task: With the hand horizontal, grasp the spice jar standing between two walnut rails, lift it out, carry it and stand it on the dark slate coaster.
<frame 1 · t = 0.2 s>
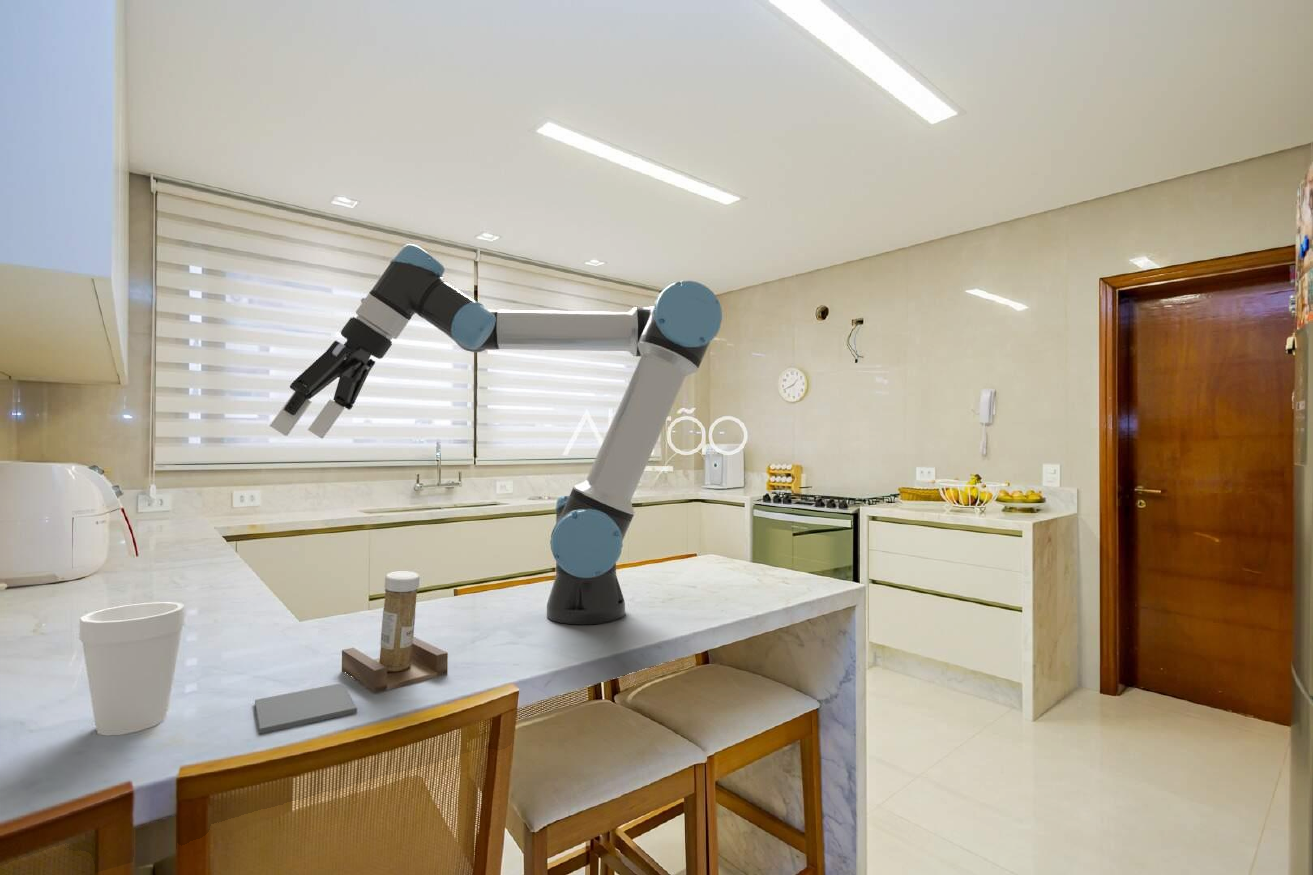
hand: (297, 432, 104), 35 cm above the countertop, tool tilted 35°, fingers open, 13 cm apart
slate coaster: (305, 708, 78), on the countertop
walnut cradle: (394, 672, 90), on the countertop
spice jar: (394, 667, 90), point 1 cm above the countertop, touching walnut cradle
foam cup: (132, 724, 73), on the countertop
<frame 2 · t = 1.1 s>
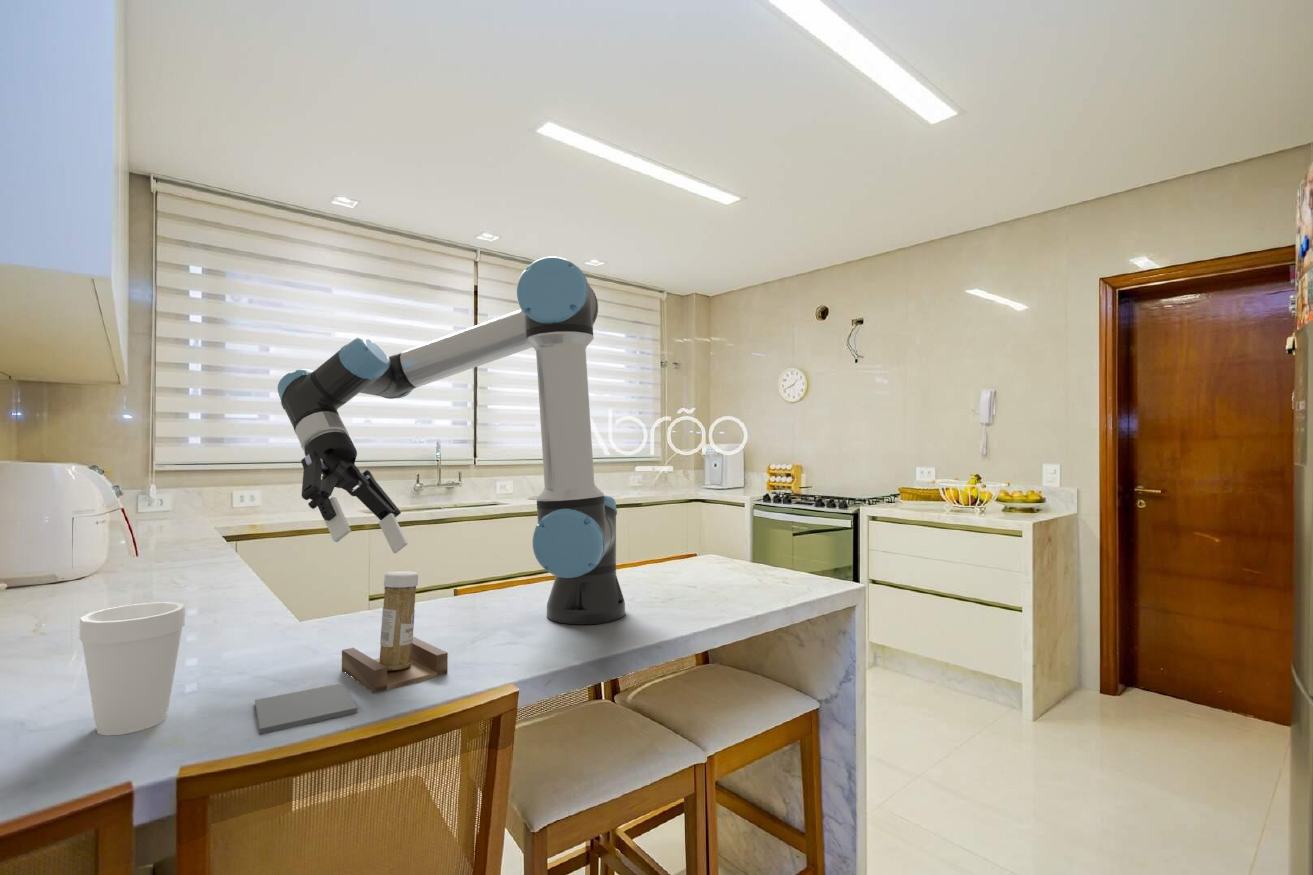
hand: (373, 542, 100), 17 cm above the countertop, tool tilted 40°, fingers open, 13 cm apart
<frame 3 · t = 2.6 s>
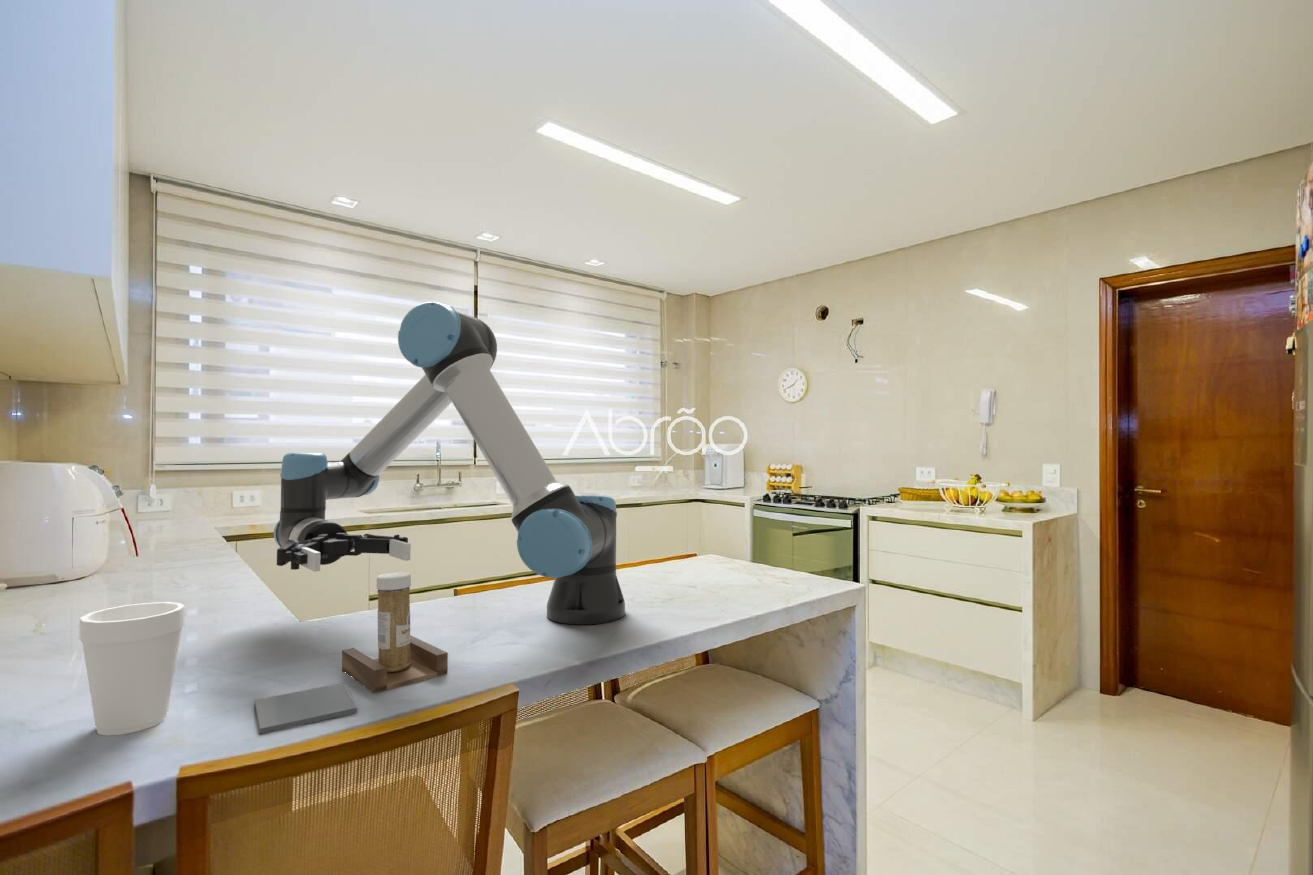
hand: (365, 556, 97), 15 cm above the countertop, tool horizontal, fingers open, 13 cm apart
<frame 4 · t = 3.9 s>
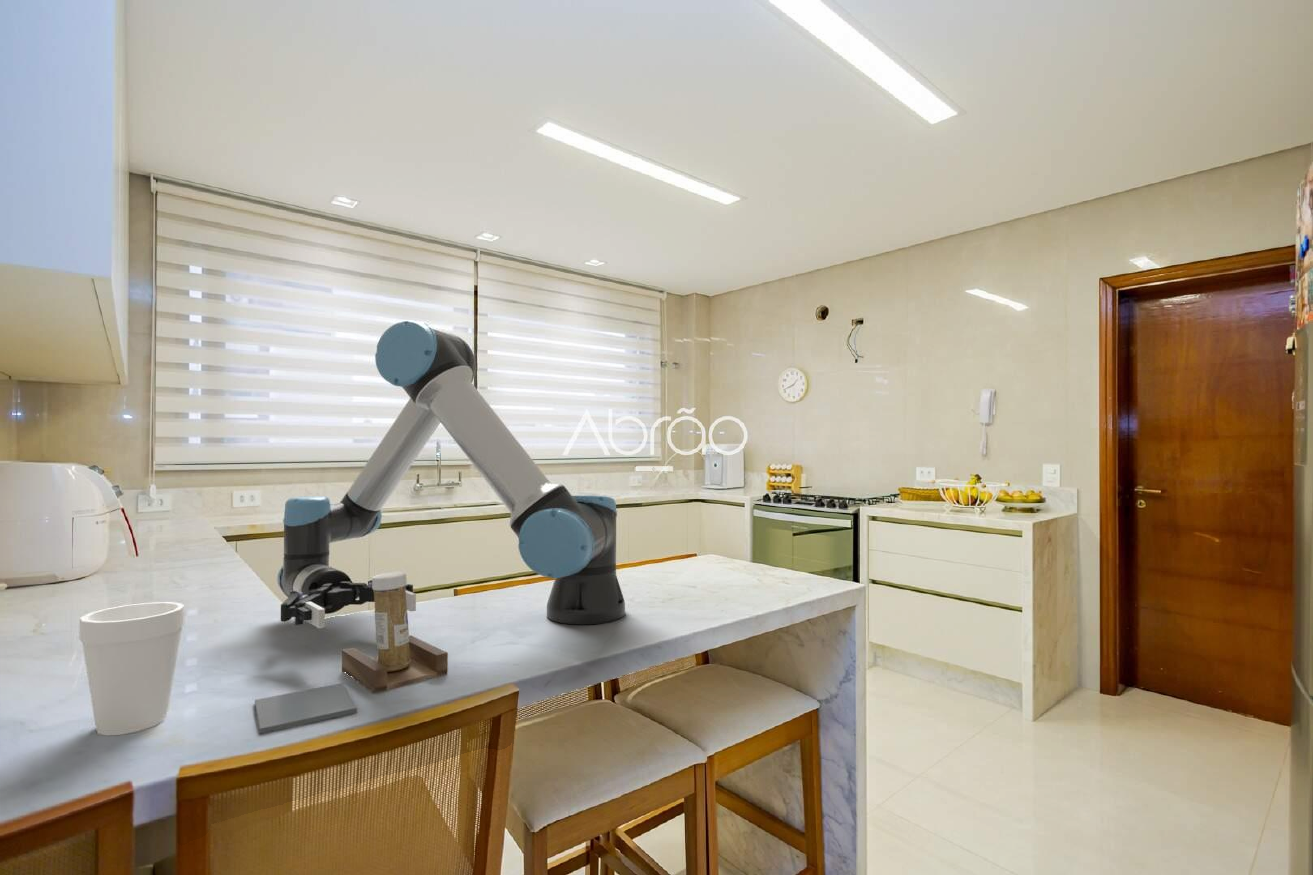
hand: (370, 610, 96), 7 cm above the countertop, tool horizontal, fingers open, 13 cm apart
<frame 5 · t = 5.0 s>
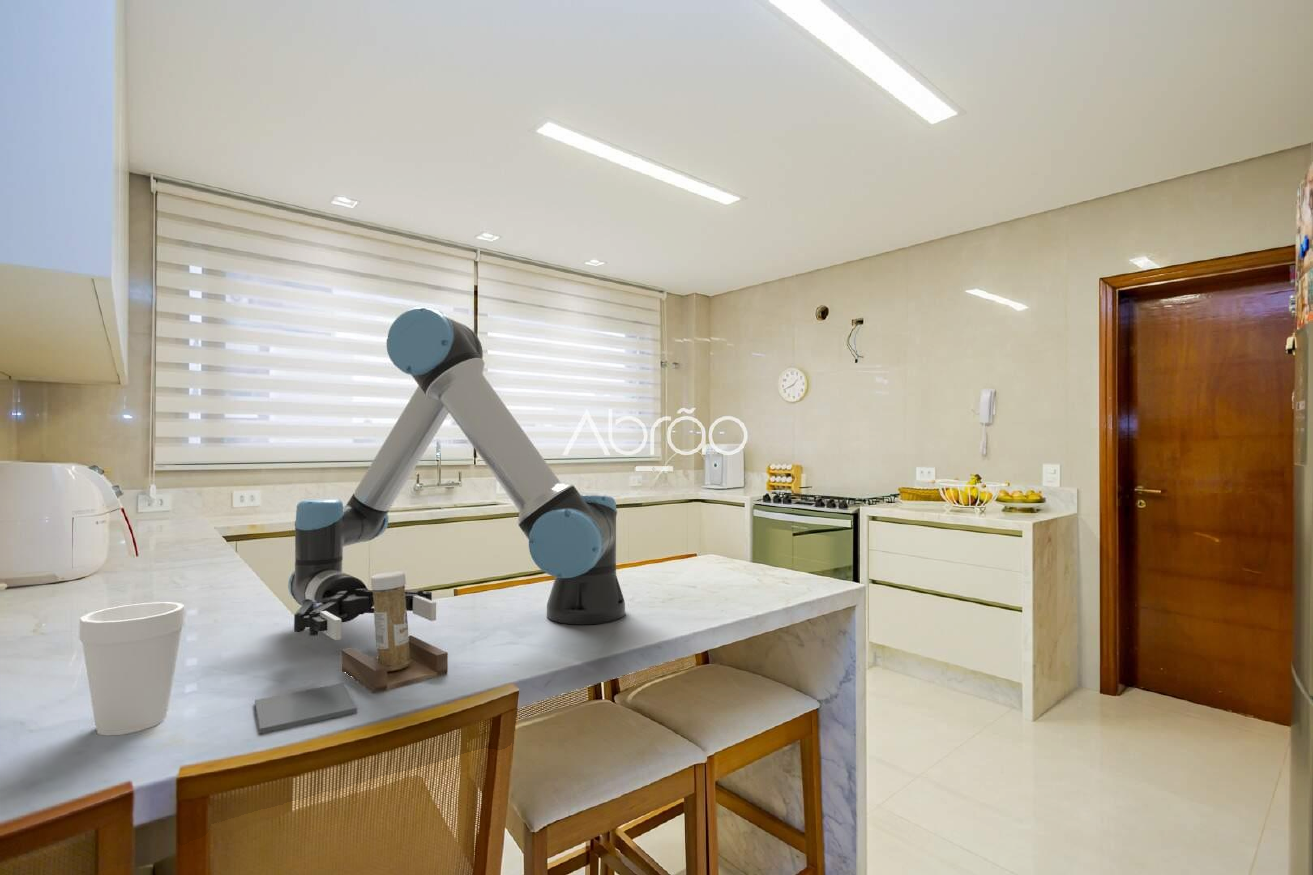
hand: (388, 620, 91), 7 cm above the countertop, tool horizontal, fingers open, 13 cm apart
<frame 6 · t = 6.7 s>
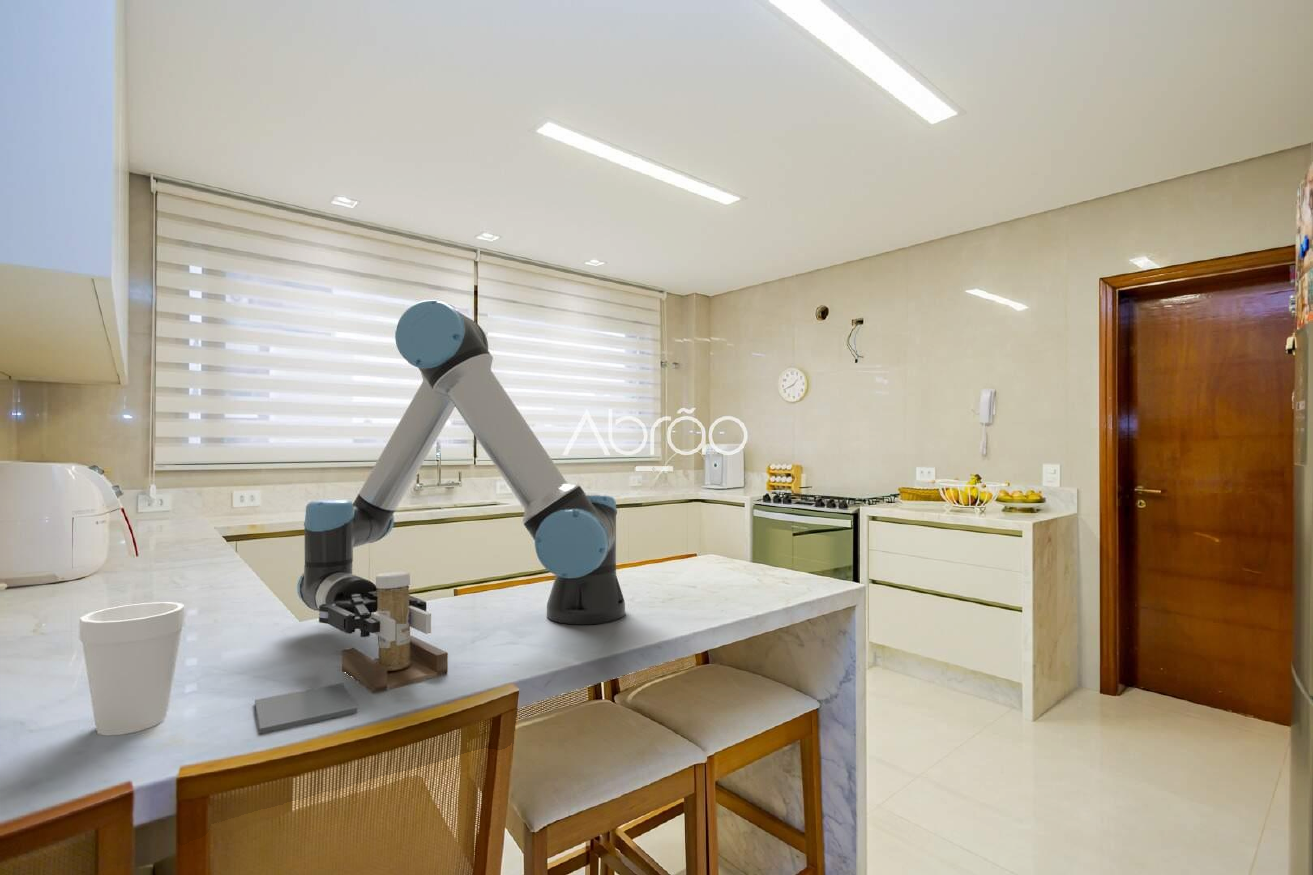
hand: (410, 627, 87), 8 cm above the countertop, tool horizontal, fingers closed on spice jar, 4 cm apart
spice jar: (394, 668, 90), point 1 cm above the countertop, touching gripper, walnut cradle
everything else where it was.
when the fingers open (9 cm above the countertop, at t = 11.3 s): spice jar drops 2 cm, resting on slate coaster.
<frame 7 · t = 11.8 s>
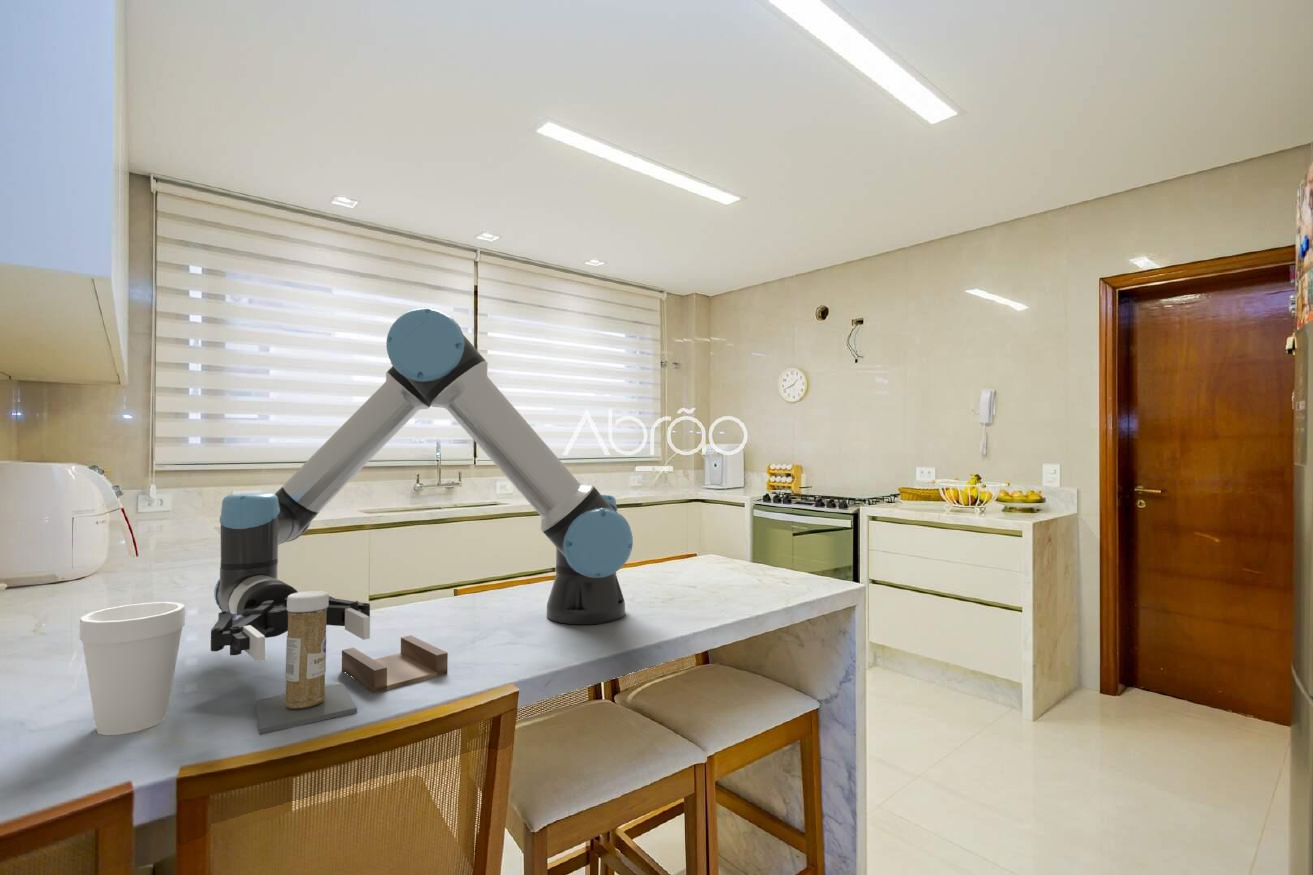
hand: (316, 638, 75), 9 cm above the countertop, tool horizontal, fingers open, 11 cm apart
spice jar: (304, 704, 78), resting on slate coaster
everything else where it was.
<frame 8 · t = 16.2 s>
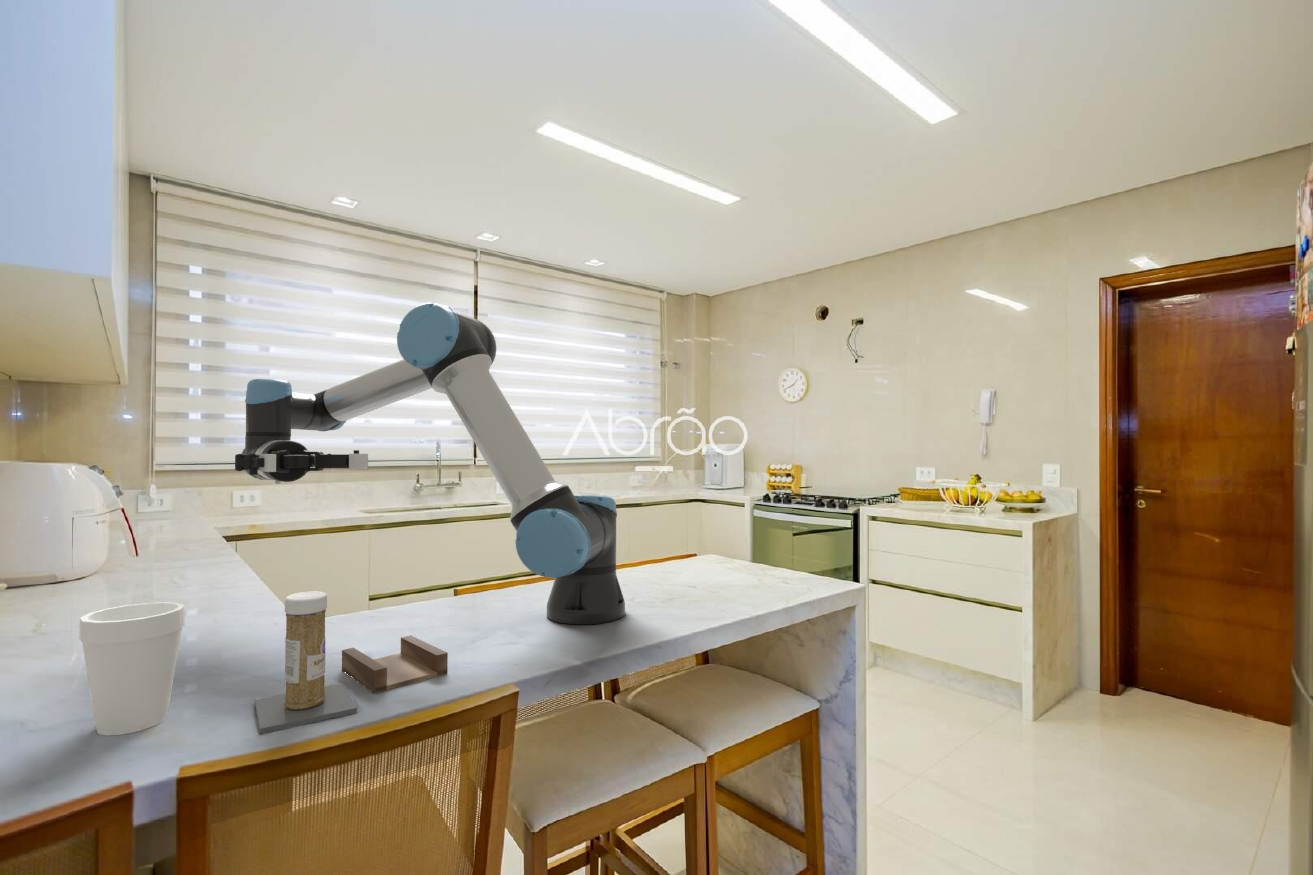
hand: (321, 462, 100), 30 cm above the countertop, tool horizontal, fingers open, 13 cm apart
nothing on the countertop moved.
at the end: spice jar inside the target area on the slate coaster (0.1 cm from its centre), point 0.5 cm above the slate coaster's base; spice jar tilted 2°; the gripper is holding nothing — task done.
